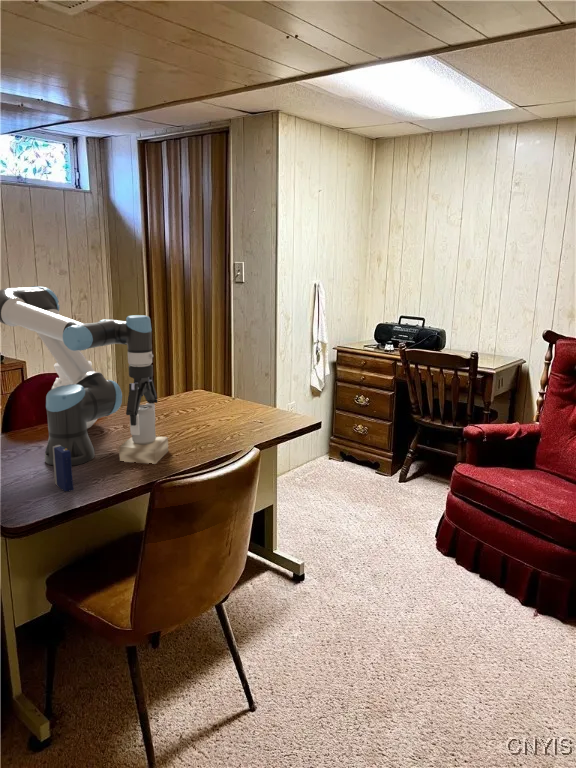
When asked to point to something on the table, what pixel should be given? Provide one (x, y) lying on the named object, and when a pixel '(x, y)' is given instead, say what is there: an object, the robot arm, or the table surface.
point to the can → (145, 425)
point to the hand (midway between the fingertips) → (143, 428)
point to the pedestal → (143, 451)
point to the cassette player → (62, 468)
